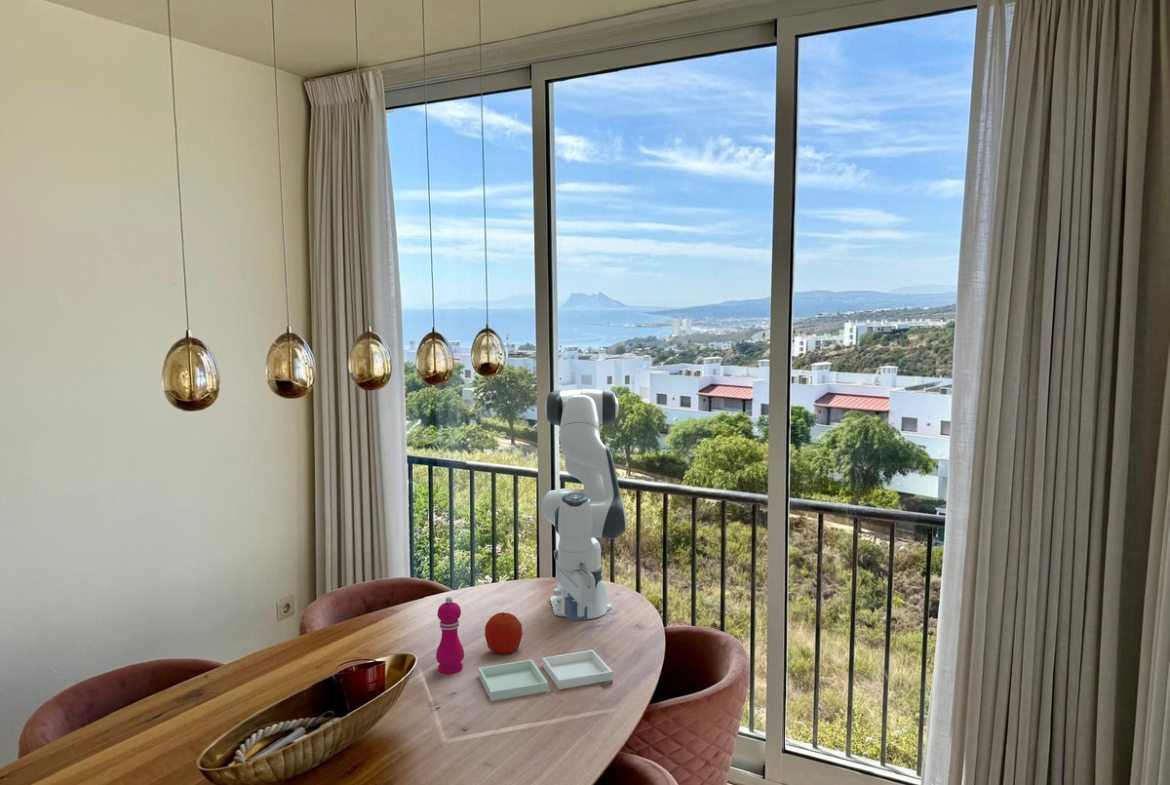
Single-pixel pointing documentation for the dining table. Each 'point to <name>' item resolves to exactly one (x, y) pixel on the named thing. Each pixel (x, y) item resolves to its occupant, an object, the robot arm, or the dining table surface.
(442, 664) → the pepper mill
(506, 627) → the apple
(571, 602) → the letter cube
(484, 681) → the tray sage
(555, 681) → the tray offwhite
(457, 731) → the dining table surface
